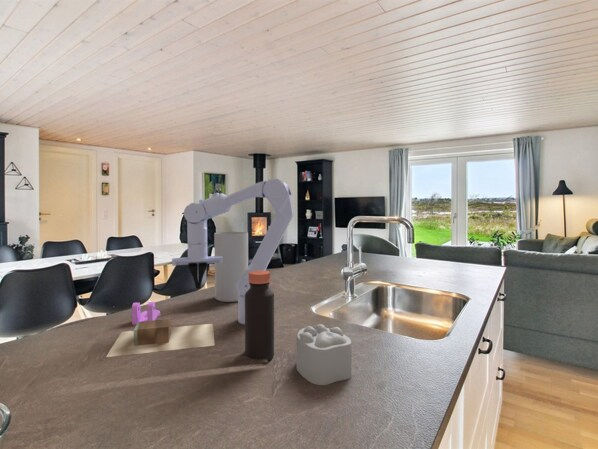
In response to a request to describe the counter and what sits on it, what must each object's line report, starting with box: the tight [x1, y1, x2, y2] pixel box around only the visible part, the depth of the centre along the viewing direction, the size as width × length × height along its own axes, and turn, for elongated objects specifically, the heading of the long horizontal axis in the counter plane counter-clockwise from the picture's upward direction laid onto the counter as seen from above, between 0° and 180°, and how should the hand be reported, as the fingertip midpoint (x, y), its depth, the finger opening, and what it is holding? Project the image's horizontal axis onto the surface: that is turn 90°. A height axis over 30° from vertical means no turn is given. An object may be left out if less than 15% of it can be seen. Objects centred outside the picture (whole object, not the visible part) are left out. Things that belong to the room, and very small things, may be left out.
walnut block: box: [133, 318, 172, 346], centre depth 87 cm, size 4×6×8 cm
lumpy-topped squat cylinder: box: [296, 323, 353, 386], centre depth 74 cm, size 10×13×9 cm
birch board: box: [105, 323, 216, 358], centre depth 88 cm, size 24×16×1 cm, turn 106°
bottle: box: [244, 270, 275, 362], centre depth 79 cm, size 7×7×20 cm
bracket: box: [131, 301, 161, 326], centre depth 105 cm, size 13×6×7 cm, turn 11°
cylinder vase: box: [213, 231, 249, 303], centre depth 129 cm, size 12×12×25 cm
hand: (198, 287), depth 103 cm, fingers closed
